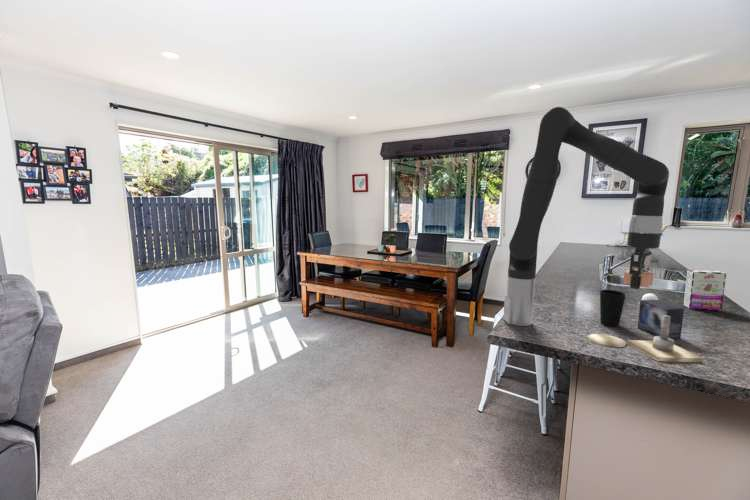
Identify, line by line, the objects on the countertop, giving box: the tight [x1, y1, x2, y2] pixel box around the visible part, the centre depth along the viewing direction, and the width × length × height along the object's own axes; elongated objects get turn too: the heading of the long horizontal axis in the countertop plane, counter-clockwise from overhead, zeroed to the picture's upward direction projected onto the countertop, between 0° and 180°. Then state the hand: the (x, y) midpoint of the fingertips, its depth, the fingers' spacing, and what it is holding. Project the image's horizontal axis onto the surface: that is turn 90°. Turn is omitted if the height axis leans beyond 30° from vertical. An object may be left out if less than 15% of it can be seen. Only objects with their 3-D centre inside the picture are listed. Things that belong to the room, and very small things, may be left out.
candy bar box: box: [683, 269, 727, 311], centre depth 141 cm, size 11×5×16 cm, turn 73°
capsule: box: [641, 293, 659, 300], centre depth 136 cm, size 5×5×8 cm
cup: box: [599, 289, 626, 328], centre depth 122 cm, size 8×8×12 cm
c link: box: [622, 269, 655, 288], centre depth 100 cm, size 6×6×4 cm
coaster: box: [588, 333, 627, 348], centre depth 108 cm, size 10×10×1 cm
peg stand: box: [626, 315, 703, 363], centre depth 98 cm, size 12×12×11 cm
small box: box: [637, 299, 685, 340], centre depth 114 cm, size 11×6×10 cm, turn 5°
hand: (637, 286), depth 101 cm, fingers closed on c link, 6 cm apart
